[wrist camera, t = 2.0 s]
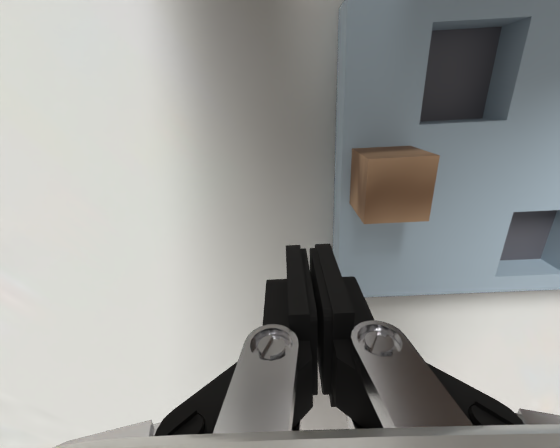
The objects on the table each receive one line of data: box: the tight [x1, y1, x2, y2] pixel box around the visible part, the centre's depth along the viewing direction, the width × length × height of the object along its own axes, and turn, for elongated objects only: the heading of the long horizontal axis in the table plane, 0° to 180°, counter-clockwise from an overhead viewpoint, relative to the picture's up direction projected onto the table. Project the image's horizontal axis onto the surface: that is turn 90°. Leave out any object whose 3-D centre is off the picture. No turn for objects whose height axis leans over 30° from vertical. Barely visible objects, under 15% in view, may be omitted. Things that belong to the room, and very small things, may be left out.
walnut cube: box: [349, 146, 440, 224], centre depth 21 cm, size 4×4×4 cm
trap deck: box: [333, 0, 560, 297], centre depth 23 cm, size 24×28×6 cm
